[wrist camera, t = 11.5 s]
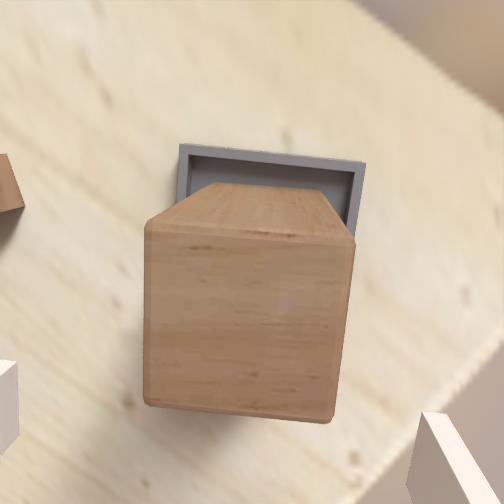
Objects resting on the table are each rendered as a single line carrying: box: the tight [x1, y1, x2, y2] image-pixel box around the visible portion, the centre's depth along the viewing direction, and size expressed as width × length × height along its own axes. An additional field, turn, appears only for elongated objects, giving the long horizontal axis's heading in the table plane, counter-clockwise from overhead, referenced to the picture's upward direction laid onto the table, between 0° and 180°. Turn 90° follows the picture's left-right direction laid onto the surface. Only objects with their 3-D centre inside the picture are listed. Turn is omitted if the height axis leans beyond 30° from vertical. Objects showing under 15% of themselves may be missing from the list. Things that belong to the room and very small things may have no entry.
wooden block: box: [143, 182, 356, 424], centre depth 31 cm, size 10×10×20 cm
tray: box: [176, 143, 366, 237], centre depth 40 cm, size 16×16×2 cm
